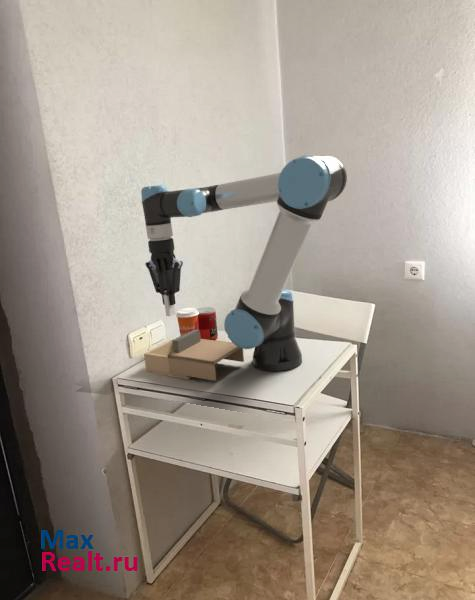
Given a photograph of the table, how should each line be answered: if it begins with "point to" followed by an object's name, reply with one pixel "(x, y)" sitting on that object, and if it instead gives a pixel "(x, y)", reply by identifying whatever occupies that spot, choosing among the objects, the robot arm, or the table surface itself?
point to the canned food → (207, 323)
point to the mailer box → (160, 360)
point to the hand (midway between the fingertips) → (170, 314)
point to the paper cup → (187, 320)
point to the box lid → (200, 355)
